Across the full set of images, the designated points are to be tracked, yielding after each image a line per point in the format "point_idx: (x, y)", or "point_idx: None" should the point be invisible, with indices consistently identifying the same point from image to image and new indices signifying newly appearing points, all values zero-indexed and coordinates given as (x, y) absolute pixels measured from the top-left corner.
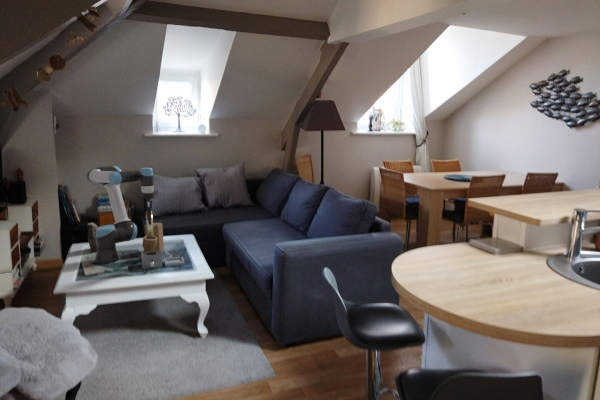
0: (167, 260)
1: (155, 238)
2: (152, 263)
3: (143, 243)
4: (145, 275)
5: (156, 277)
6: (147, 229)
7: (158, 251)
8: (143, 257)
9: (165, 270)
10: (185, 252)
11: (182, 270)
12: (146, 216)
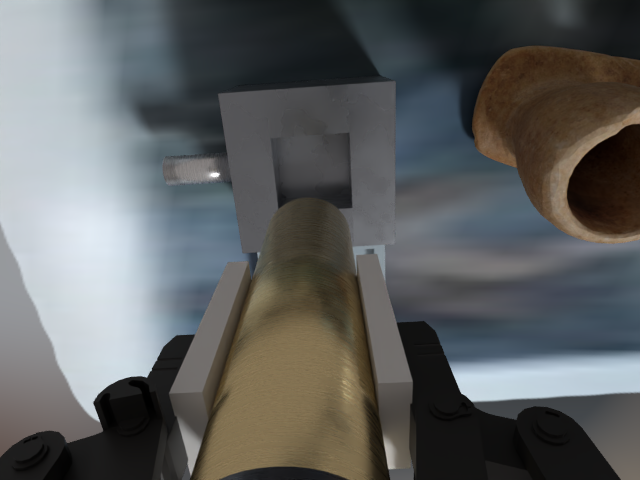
0: (370, 252)
1: (624, 226)
2: (165, 176)
3: (575, 97)
4: (93, 116)
5: (48, 188)
6: (266, 252)
7: (363, 228)
8: (222, 109)
9: (185, 237)
10: (546, 347)
11: (170, 324)
12: (224, 441)
